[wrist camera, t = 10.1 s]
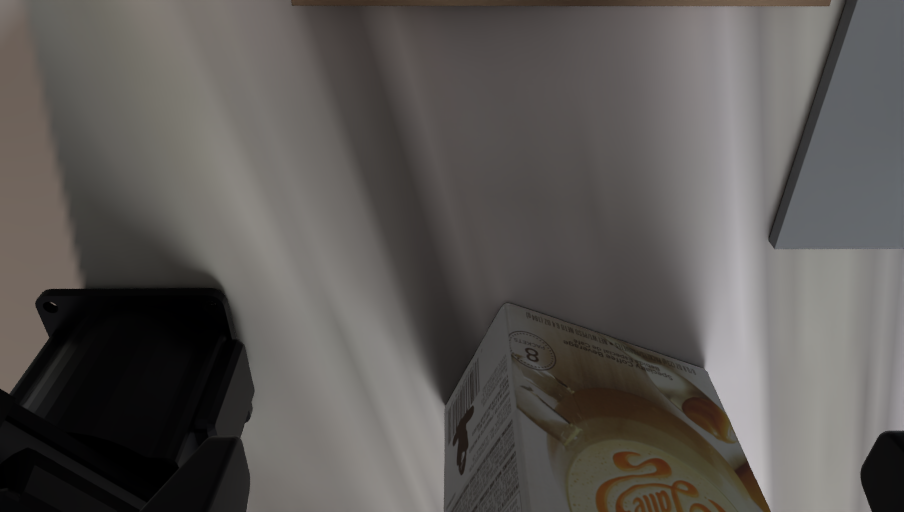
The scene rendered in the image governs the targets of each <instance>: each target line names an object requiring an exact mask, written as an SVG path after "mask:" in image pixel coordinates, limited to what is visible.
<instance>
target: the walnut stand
mask: <svg viewBox="0 0 904 512" xmlns="http://www.w3.org/2000/svg"><path fill="white" fill-rule="evenodd" d="M291 2H292V6H829V5H830V2H831V0H291Z"/></svg>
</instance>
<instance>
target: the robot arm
mask: <svg viewBox="0 0 904 512" xmlns="http://www.w3.org/2000/svg"><path fill="white" fill-rule="evenodd" d="M207 301H212V302H214V303H215V304H216V305H211V304H209V303H208V302H207ZM50 302H53V303H54V304H56V305H57V306H55V305H53V304H51V303H50ZM35 304H36V308H37V310H38V313H39V315H40V317H41V320H42V322H43V324H44V327H45V329H46V331H47V333H48V336H49V339H48V341H47V342H46V343H45V345H44V346H43V348H42V349H41V351H40V352H39V353H38V355H37V356H36V357H35V359H34V360H33V362H32V363H31V365H30V366H29V367H28V369H27V370H26V371H25V373H24V374H23V376H22V377H21V379H20V380H19V381H18V383H17V384H16V385H15V387H14V388H13V390H12V391H11V393H10V394H8V393H6V392H5V391H3V390H1V389H0V512H246V509H247V503H248V496H249V490H250V473H249V469H248V464H247V460H246V456H245V452H244V447H243V443H242V440H241V439H240V437H241V434H242V431H243V428H244V424H245V423H246V422H248V421H249V419H250V417H251V414H252V409H253V407H252V403H251V402H252V398H253V395H254V385H253V381H252V377H251V372H250V368H249V363H248V359H247V354H246V350H245V346H244V344H243V343H242V342H241V341H240V340H239V339H236V335H235V330H234V326H233V322H232V318H231V313H230V309H229V305H228V301H227V298H226V296H225V295H224V294H223V293H222V292H221V291H219V290H217V289H212V288H152V289H49V290H45V291H44V292H42V294H41V295H40V296H39V297H38V299H37V300H36V303H35ZM861 483H862V486H863V489H864V492H865V495H866V497H867V500H868V503H869V505H870V508H871V511H872V512H904V431H885V432H883V433H881V434H880V435H879V437H878V438H877V440H876V442H875V443H874V445H873V447H872V449H871V451H870V453H869V454H868V456H867V458H866V460H865V462H864V463H863V465H862V468H861Z"/></svg>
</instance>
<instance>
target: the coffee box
mask: <svg viewBox="0 0 904 512" xmlns="http://www.w3.org/2000/svg"><path fill="white" fill-rule="evenodd" d="M444 416H445V467H444V512H771V511H770V509H769V506H768V504H767V502H766V500H765V498H764V496H763V494H762V491H761V489H760V487H759V485H758V483H757V480H756V479H755V476H754V474H753V472H752V470H751V468H750V466H749V463H748V461H747V458H746V456H745V454H744V452H743V450H742V448H741V445H740V443H739V441H738V438H737V436H736V434H735V432H734V430H733V427H732V425H731V423H730V420H729V418H728V416H727V414H726V412H725V410H724V408H723V406H722V403H721V401H720V399H719V397H718V395H717V392H716V390H715V388H714V386H713V384H712V382H711V380H710V377H709V374H708V372H707V371H706V370H705V369H703V368H700V367H697V366H694V365H691V364H688V363H685V362H682V361H679V360H676V359H673V358H670V357H668V356H665V355H662V354H659V353H656V352H653V351H650V350H647V349H644V348H641V347H638V346H635V345H632V344H629V343H626V342H623V341H620V340H617V339H615V338H612V337H609V336H606V335H603V334H600V333H597V332H594V331H591V330H588V329H585V328H582V327H579V326H577V325H573V324H570V323H567V322H564V321H561V320H559V319H556V318H553V317H550V316H547V315H544V314H541V313H538V312H535V311H532V310H529V309H526V308H523V307H520V306H517V305H514V304H510V303H505V304H504V305H503V306H502V307H501V309H500V310H499V312H498V313H497V315H496V317H495V319H494V320H493V322H492V324H491V326H490V328H489V329H488V331H487V333H486V335H485V337H484V338H483V340H482V342H481V344H480V346H479V347H478V349H477V351H476V353H475V355H474V356H473V358H472V360H471V362H470V363H469V365H468V367H467V368H466V370H465V372H464V374H463V376H462V377H461V379H460V381H459V383H458V385H457V386H456V388H455V390H454V392H453V394H452V395H451V397H450V399H449V401H448V403H447V404H446V406H445V413H444Z"/></svg>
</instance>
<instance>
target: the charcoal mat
mask: <svg viewBox="0 0 904 512" xmlns="http://www.w3.org/2000/svg"><path fill="white" fill-rule="evenodd" d="M769 242H770V244H771V245H772V246H773V248H774V249H904V0H847V1H846V4H845V7H844V10H843V13H842V17H841V20H840V23H839V26H838V29H837V32H836V35H835V38H834V41H833V44H832V47H831V50H830V53H829V57H828V60H827V63H826V66H825V69H824V72H823V75H822V78H821V81H820V84H819V87H818V90H817V93H816V97H815V100H814V103H813V106H812V109H811V112H810V115H809V118H808V121H807V124H806V127H805V130H804V133H803V137H802V140H801V143H800V146H799V149H798V152H797V155H796V158H795V161H794V164H793V167H792V170H791V173H790V176H789V180H788V183H787V186H786V189H785V192H784V195H783V198H782V201H781V204H780V207H779V210H778V213H777V216H776V220H775V223H774V226H773V229H772V232H771V235H770V238H769Z"/></svg>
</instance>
